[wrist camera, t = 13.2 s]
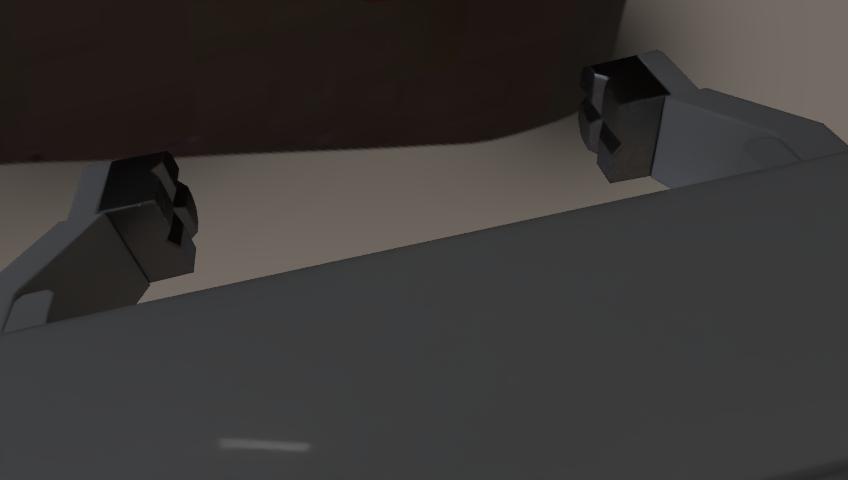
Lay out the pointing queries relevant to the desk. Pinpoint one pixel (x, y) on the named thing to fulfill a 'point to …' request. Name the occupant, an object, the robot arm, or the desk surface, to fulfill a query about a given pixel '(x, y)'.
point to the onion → (375, 0)
